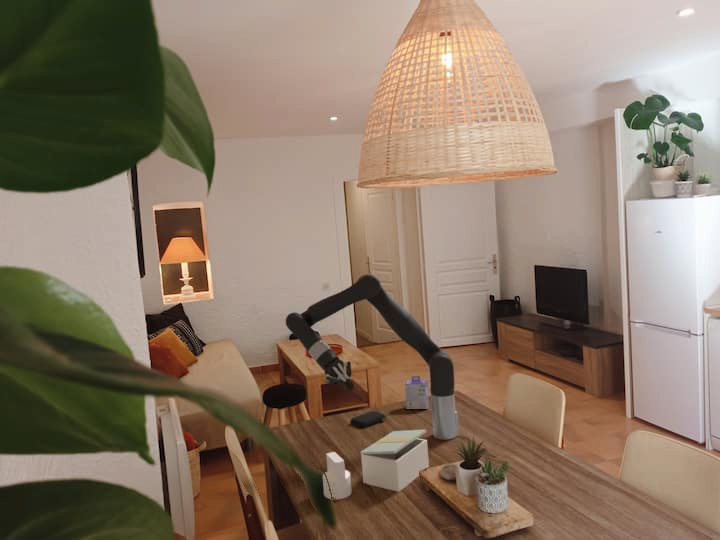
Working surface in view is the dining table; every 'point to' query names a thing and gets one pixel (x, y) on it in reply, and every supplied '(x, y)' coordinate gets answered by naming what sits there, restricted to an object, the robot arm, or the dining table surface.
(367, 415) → the carrying case or bag
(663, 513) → the dining table surface
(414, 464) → the storage box
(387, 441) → the lid
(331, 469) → the cylinder with rectangular tab
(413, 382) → the ink cartridge box
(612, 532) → the dining table surface
